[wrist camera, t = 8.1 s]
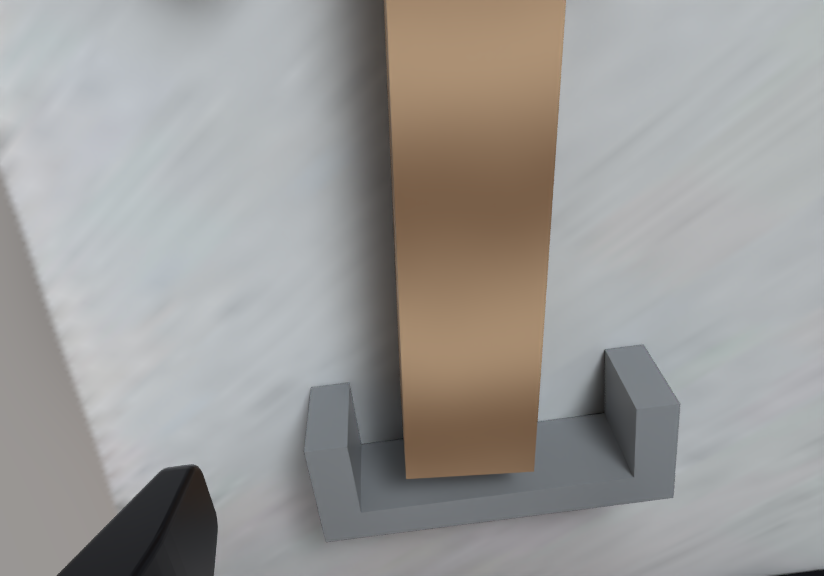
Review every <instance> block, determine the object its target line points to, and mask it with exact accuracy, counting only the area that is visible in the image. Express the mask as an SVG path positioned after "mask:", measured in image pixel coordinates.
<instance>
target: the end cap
mask: <svg viewBox="0 0 824 576" xmlns="http://www.w3.org/2000/svg"><path fill="white" fill-rule="evenodd" d="M679 414H680V403H679V401H678V399H677V398H676V396H675V395H674V393H673V391H672V390H671V388H670V386H669V385H668V383H667V382H666V380H665V378H664V377H663V375H662V373H661V372H660V370H659V369H658V367H657V365H656V364H655V362H654V361H653V359H652V357H651V356H650V354H649V352H648V351H647V349H646V348H645V346H644V345H636V346H629V347H621V348H613V349H605V411H604V413H602V414H595V415H587V416H579V417H571V418H563V419H556V420H548V421H540V422H537V436H536V450H535V465H534V472H520V473H503V474H486V475H468V476H451V477H434V478H417V479H406V469H405V454H404V439H400V440H392V441H385V442H377V443H369V444H361V440H360V435H359V430H358V424H357V419H356V414H355V409H354V404H353V399H352V394H351V388H350V383H342V384H334V385H326V386H319V387H311V393H310V402H309V411H308V420H307V429H306V439H305V448H304V454H305V458H306V462H307V467H308V471H309V475H310V479H311V483H312V487H313V491H314V495H315V499H316V504H317V508H318V512H319V516H320V520H321V524H322V528H323V532H324V536H325V540H326V542H331V541H339V540H347V539H354V538H362V537H370V536H378V535H386V534H394V533H401V532H409V531H417V530H425V529H433V528H441V527H448V526H456V525H464V524H472V523H480V522H488V521H495V520H503V519H511V518H519V517H527V516H535V515H542V514H550V513H558V512H566V511H574V510H582V509H589V508H597V507H605V506H613V505H621V504H629V503H636V502H644V501H652V500H660V499H668V498H673V496H674V482H675V468H676V455H677V441H678V427H679Z"/></svg>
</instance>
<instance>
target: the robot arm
mask: <svg viewBox="0 0 824 576" xmlns="http://www.w3.org/2000/svg"><path fill="white" fill-rule="evenodd" d="M217 532H218V524H217V516H216V512H215V509H214V506H213V503H212V500H211V497H210V494H209V491H208V488H207V485H206V482H205V479H204V476H203V473H202V471H201V470H200V468H199V467H198V466H196V465H194V464H190V465H183V466H175V467H168V468H165V469H163V470H161V471H160V472H159V473H158V474H157V475H156V476H155V477H154V478H153V479H152V480H151V481H150V482H149V483H148V484H147V485H146V486H145V487H144V488H143V489H142V490H141V491H140V492H139V493H138V494H137V495H136V496H135V497H134V498H133V499H132V500H131V501H130V502H129V503H128V504H127V505H126V506H125V507H124V508H123V509H122V510H121V511H120V512H119V513H118V514H117V515H116V516H115V517H114V518H113V519H112V520H111V521H110V522H109V524H107V525H106V527H104V528H103V529H102V530H101V531H100V532H99V533H98V535H96V536H95V537H94V538H93V540H92V541H91V542H90V543H89V544H88V545H87V546H86V547H85V548H84V549H83V550H82V551H81V552H80V553H79V554H78V555H77V556H76V557H75V558H74V559H73V560H72V561H71V562H70V563H69V564H68V565H67V566H66V567H65V568H64V569H63V570H62V571H61V572H60V573H59V574H58V575H57V576H214V568H215V556H216V545H217ZM781 576H824V570H821V571H813V572H805V573H797V574H789V575H781Z"/></svg>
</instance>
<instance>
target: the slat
mask: <svg viewBox="0 0 824 576" xmlns="http://www.w3.org/2000/svg"><path fill="white" fill-rule="evenodd" d="M565 7H566V0H384V18H385V41H386V65H387V88H388V111H389V134H390V158H391V181H392V204H393V227H394V250H395V274H396V297H397V320H398V343H399V367H400V390H401V407H402V423H403V438H404V454H405V469H406V479H417V478H434V477H451V476H468V475H486V474H503V473H520V472H534V465H535V450H536V436H537V421H538V406H539V391H540V377H541V362H542V347H543V332H544V318H545V303H546V288H547V273H548V258H549V244H550V229H551V214H552V199H553V185H554V170H555V155H556V140H557V125H558V111H559V96H560V81H561V66H562V52H563V37H564V22H565Z"/></svg>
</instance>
